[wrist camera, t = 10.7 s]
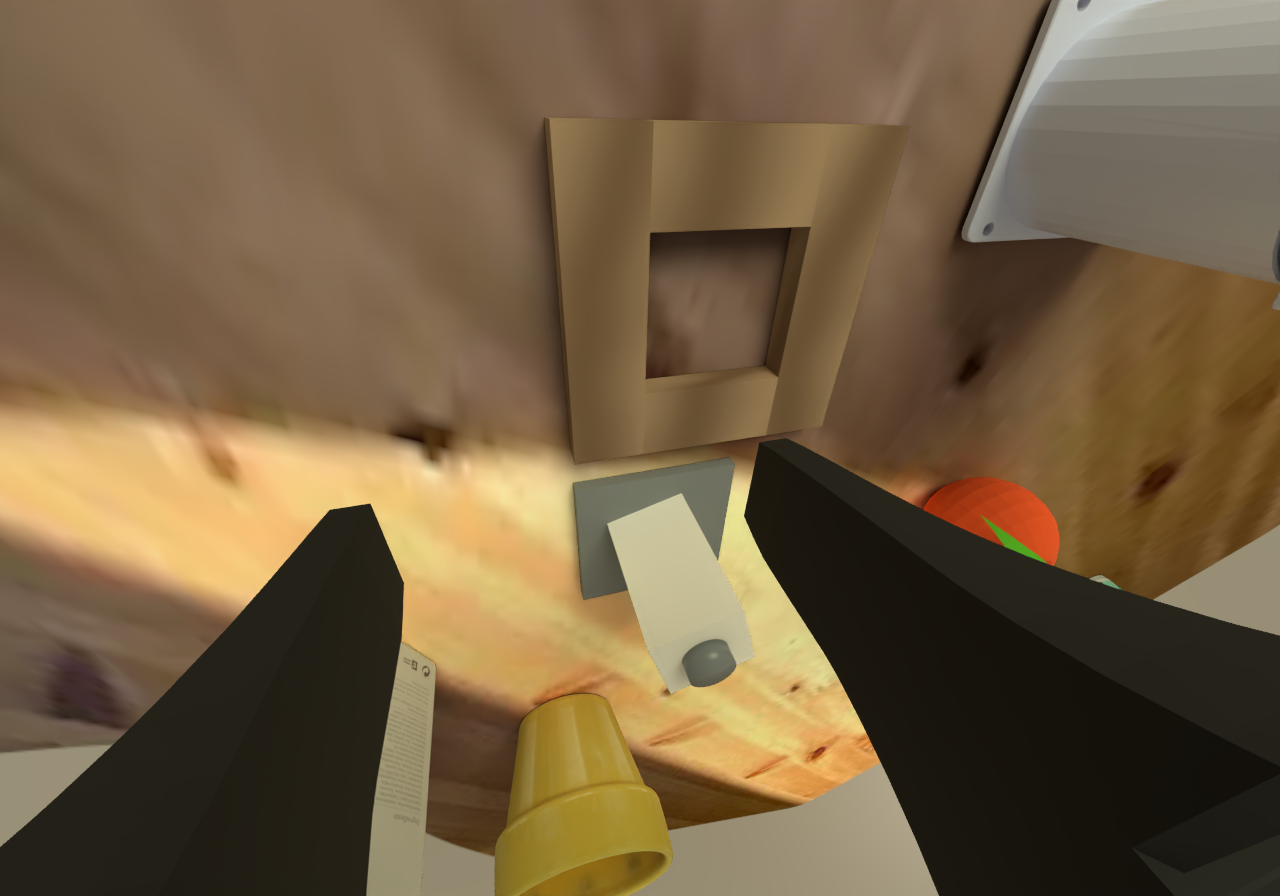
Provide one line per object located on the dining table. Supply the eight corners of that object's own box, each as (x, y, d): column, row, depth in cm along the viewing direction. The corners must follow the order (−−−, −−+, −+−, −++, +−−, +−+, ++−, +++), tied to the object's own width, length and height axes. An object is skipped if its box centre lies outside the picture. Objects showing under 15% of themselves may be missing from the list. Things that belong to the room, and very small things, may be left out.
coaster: (729, 457, 24) (735, 464, 23) (712, 562, 29) (716, 570, 28) (573, 482, 22) (575, 491, 22) (581, 591, 27) (583, 600, 26)
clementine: (872, 502, 30) (964, 593, 24) (968, 427, 28) (1089, 506, 23) (913, 547, 34) (998, 631, 29) (997, 485, 33) (1104, 562, 27)
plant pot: (458, 746, 33) (454, 941, 25) (557, 663, 30) (586, 851, 23) (568, 761, 39) (592, 921, 31) (659, 692, 36) (708, 848, 29)
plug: (681, 493, 24) (753, 627, 18) (696, 541, 26) (763, 674, 20) (607, 523, 23) (654, 670, 17) (629, 569, 26) (677, 712, 20)
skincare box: (384, 629, 24) (329, 965, 15) (441, 663, 27) (425, 963, 18) (281, 683, 24) (161, 1049, 15) (348, 711, 27) (283, 1034, 18)
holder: (886, 124, 17) (910, 126, 16) (808, 413, 24) (821, 426, 23) (544, 117, 14) (549, 118, 13) (570, 448, 21) (574, 464, 20)
